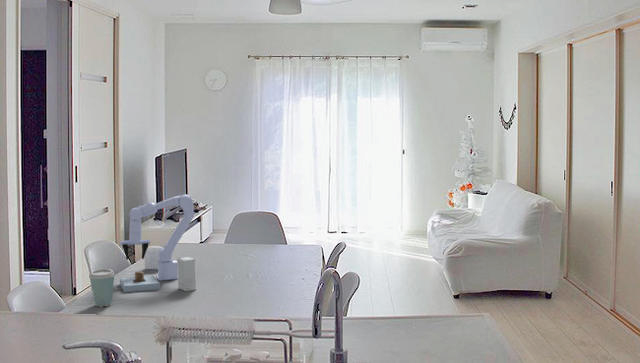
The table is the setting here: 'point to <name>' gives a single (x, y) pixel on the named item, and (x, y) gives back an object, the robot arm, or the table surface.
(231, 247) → the table surface
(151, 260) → the photo printer
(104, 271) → the disposable coffee cup
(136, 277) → the walnut peg
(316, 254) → the table surface
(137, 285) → the socket block
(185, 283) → the skincare box
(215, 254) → the table surface
